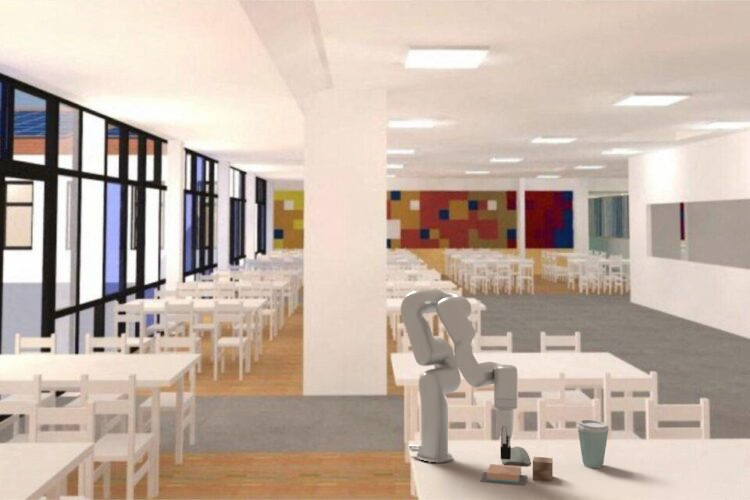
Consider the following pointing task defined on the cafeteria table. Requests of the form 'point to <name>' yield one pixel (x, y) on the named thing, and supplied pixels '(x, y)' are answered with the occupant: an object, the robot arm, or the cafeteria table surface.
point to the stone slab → (517, 457)
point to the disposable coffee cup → (592, 442)
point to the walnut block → (542, 469)
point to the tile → (504, 473)
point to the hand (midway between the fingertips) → (505, 458)
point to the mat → (521, 482)
